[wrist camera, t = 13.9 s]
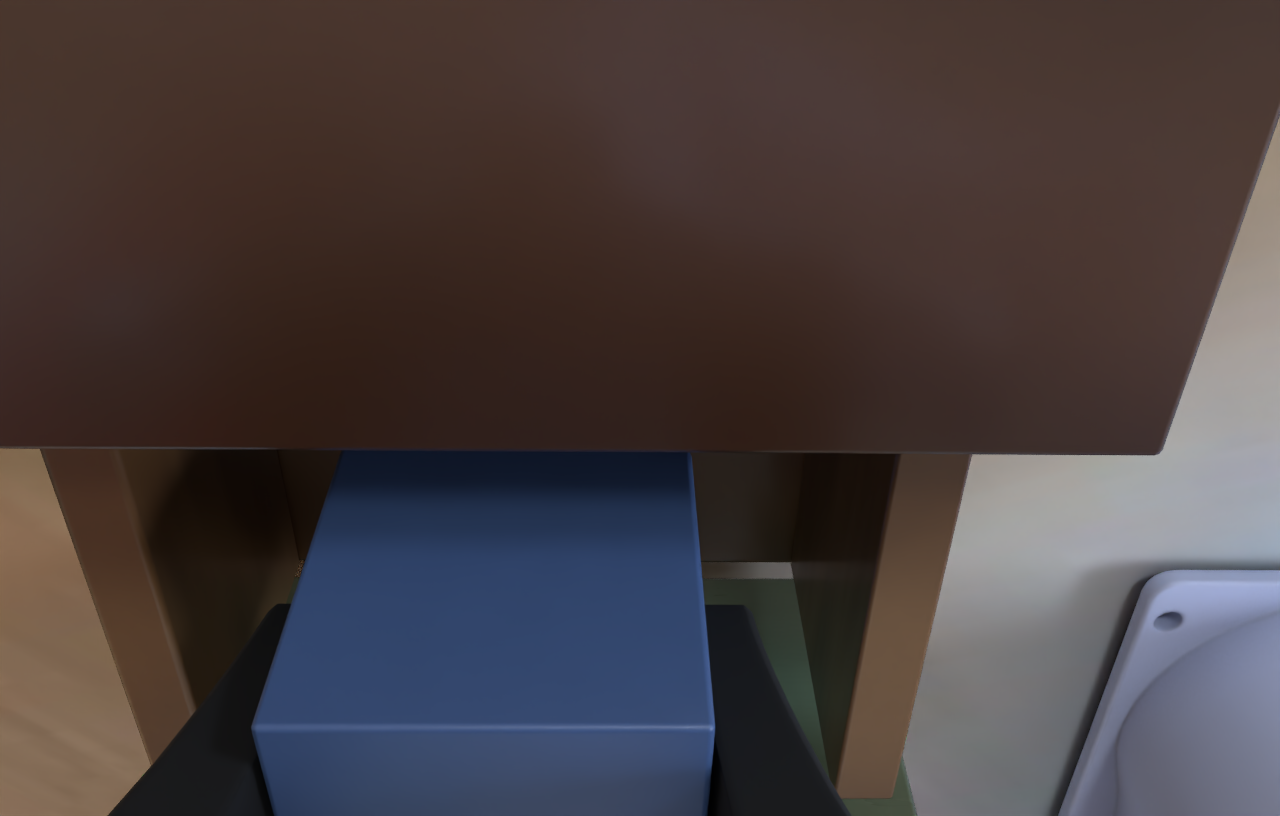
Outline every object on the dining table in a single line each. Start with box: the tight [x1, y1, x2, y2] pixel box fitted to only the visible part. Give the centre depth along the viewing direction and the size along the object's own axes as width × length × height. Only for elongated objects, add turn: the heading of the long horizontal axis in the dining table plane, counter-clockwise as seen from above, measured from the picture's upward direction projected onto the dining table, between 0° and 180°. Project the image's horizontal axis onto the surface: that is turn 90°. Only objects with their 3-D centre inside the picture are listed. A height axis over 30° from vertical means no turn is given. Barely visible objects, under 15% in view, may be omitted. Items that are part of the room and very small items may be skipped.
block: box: [251, 450, 715, 816], centre depth 13 cm, size 4×4×4 cm
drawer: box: [40, 449, 972, 816], centre depth 16 cm, size 17×11×6 cm, turn 179°
